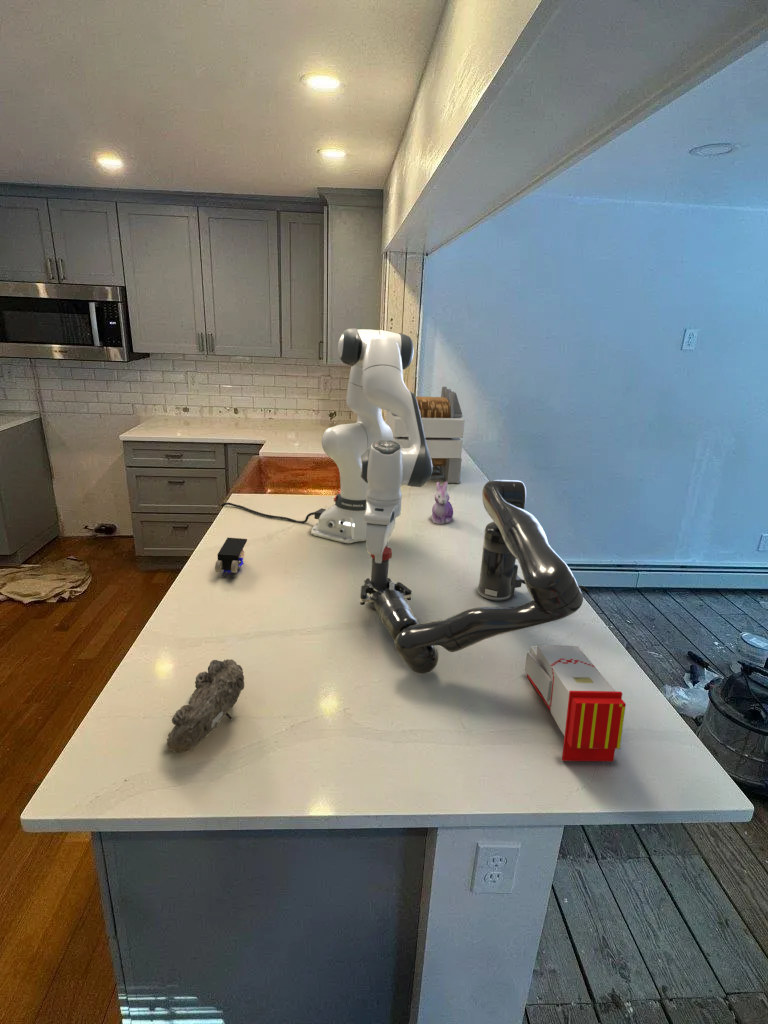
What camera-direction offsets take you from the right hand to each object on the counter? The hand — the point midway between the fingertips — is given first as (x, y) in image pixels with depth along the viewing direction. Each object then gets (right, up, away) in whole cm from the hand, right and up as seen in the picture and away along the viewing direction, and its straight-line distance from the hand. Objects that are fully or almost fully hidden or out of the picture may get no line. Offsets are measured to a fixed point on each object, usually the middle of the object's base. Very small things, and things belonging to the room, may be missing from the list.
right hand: (376, 580), depth 152 cm
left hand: (+1, +7, -5) cm, 9 cm away
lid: (+1, +8, -6) cm, 10 cm away
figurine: (+24, +15, +63) cm, 69 cm away
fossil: (-31, -21, -43) cm, 57 cm away
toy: (+38, -22, -38) cm, 58 cm away
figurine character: (-43, +1, +16) cm, 46 cm away
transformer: (+19, +37, +123) cm, 130 cm away
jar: (0, -7, 0) cm, 7 cm away
